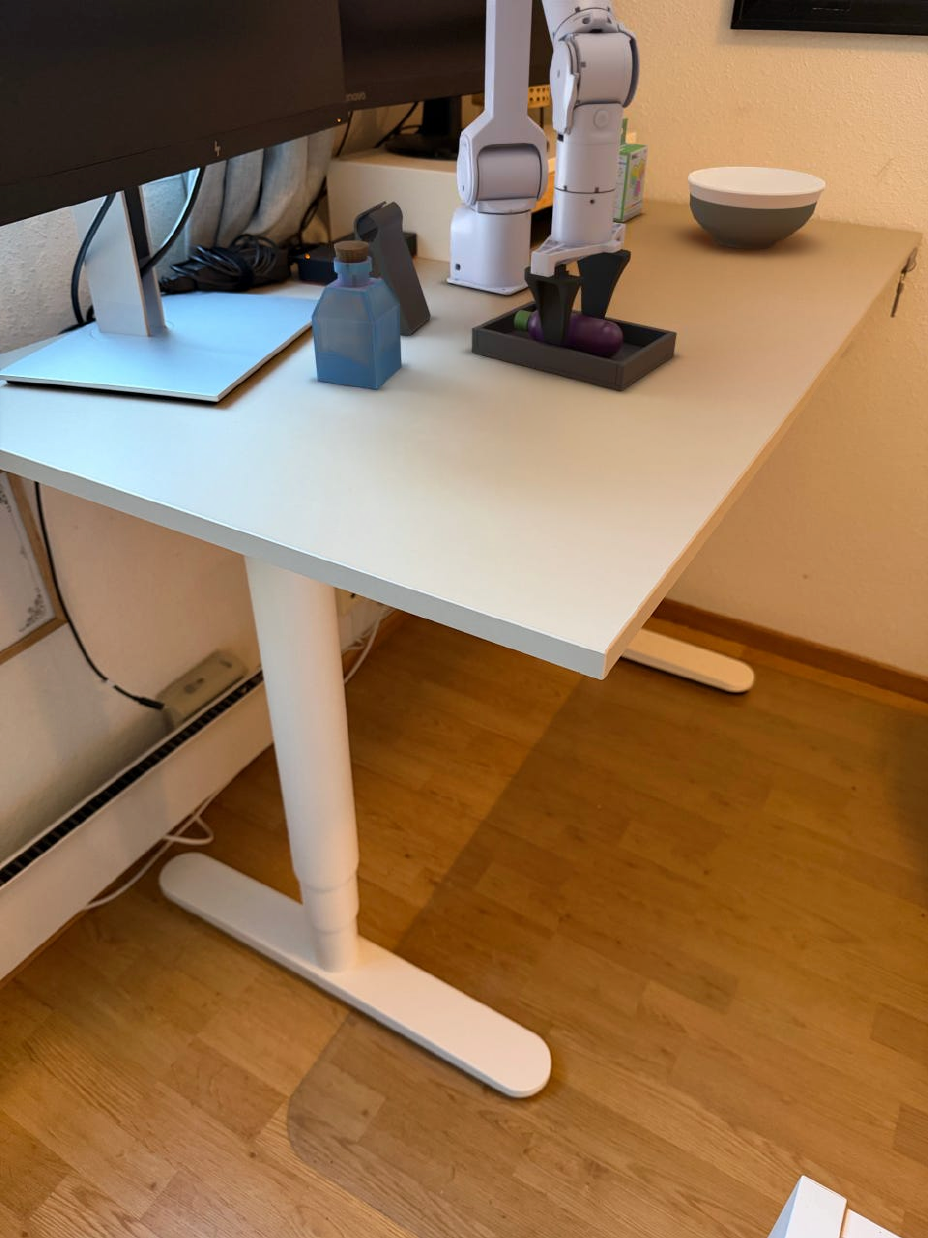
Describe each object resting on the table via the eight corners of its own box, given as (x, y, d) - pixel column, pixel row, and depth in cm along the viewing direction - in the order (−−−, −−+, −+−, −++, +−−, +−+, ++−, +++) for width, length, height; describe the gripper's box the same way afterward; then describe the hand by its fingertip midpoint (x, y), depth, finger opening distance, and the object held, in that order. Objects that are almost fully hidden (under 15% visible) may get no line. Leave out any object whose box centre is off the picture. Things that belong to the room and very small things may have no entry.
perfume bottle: (401, 366, 89) (396, 239, 82) (376, 389, 84) (369, 256, 77) (345, 358, 91) (335, 233, 84) (317, 380, 86) (304, 250, 79)
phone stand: (431, 319, 101) (429, 204, 94) (410, 335, 96) (406, 216, 89) (359, 310, 103) (351, 197, 96) (335, 326, 99) (325, 209, 92)
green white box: (624, 223, 137) (634, 124, 129) (600, 220, 139) (609, 122, 131) (641, 214, 142) (652, 118, 134) (618, 211, 144) (627, 116, 136)
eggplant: (509, 342, 94) (509, 308, 91) (528, 330, 96) (528, 297, 94) (610, 367, 88) (613, 331, 86) (628, 354, 90) (631, 319, 88)
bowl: (830, 258, 121) (845, 192, 116) (692, 257, 122) (702, 191, 117) (791, 225, 136) (803, 166, 132) (669, 224, 137) (676, 165, 132)
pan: (471, 352, 92) (471, 328, 91) (530, 323, 100) (531, 300, 98) (621, 391, 84) (623, 365, 83) (673, 356, 92) (677, 332, 90)
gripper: (583, 206, 76) (571, 362, 84) (659, 179, 85) (642, 321, 94) (514, 196, 79) (509, 346, 87) (594, 170, 89) (583, 308, 97)
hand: (573, 332), depth 91 cm, fingers open, 7 cm apart
